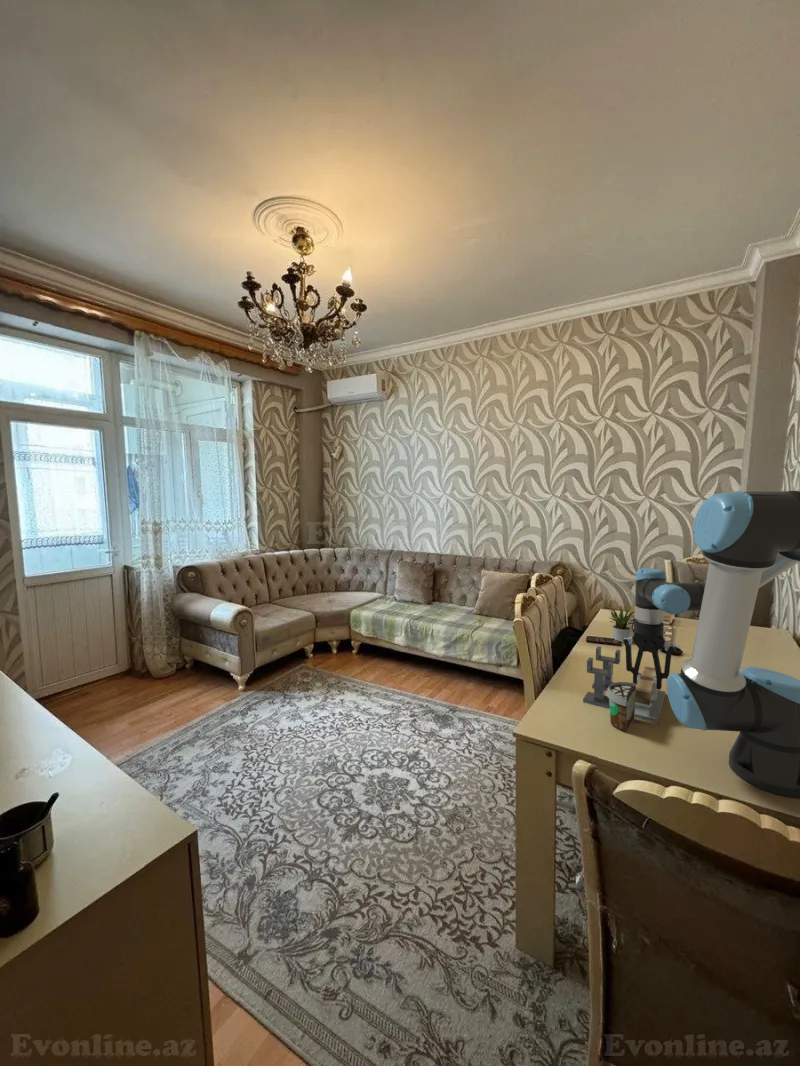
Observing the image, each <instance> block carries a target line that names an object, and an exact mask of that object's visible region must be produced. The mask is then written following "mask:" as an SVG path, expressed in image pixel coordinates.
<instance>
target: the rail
mask: <svg viewBox="0 0 800 1066" xmlns="http://www.w3.org/2000/svg"><path fill="white" fill-rule="evenodd" d="M654 676H656V671H655V667H652V666H646V665H644V667H643V671H642V673H641V678H640V680H639V682H638V685H636V686H637V687H636V695H635V702H637V703H641V704H645V705H650V702H651V699H652V696H653V685H654Z"/></svg>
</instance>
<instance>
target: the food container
mask: <svg viewBox="0 0 800 1066" xmlns="http://www.w3.org/2000/svg"><path fill="white" fill-rule="evenodd" d="M636 686H637V685H636V684H635V683H633V682H629V681H616V682H615V683H612V684H610V685H609V687H608V690H607V691H606V696H607V697H608V698H609V703H610V709H609V714H610V715H609V717H610V725H611V726H612V727H613V728H615V729H616V730H618V731H619V732H622V733H625V734H627V733H628V731H629V729H630V728H631V726H632V724H633V722H634V720H635V717H634V716H635V695H636Z"/></svg>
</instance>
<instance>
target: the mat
mask: <svg viewBox="0 0 800 1066" xmlns="http://www.w3.org/2000/svg"><path fill="white" fill-rule="evenodd" d="M636 687H637V685H636ZM666 693H667V690H666V691H665V690H662V689H660V690H659V689H657V699H656V701H655V700H653V696H652V699H651V702H650V705H645V704H641V703H637V702H635V716H634V718H636V719H640V720H643V721H644V720H645V721H649V722H653V723H656V724H659V721H660V716H661V713H662V708H663V705H664V701H665V697H666Z"/></svg>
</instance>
